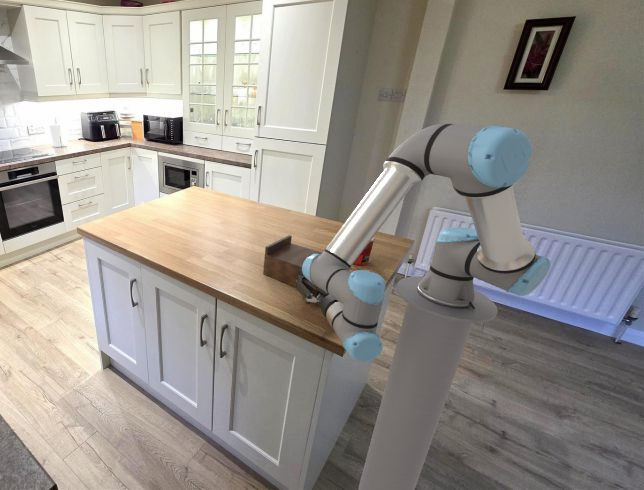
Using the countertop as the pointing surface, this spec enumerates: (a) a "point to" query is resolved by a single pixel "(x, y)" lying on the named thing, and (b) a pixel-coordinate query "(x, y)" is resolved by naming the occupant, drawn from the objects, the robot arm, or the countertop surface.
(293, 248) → the shelf
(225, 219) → the countertop surface
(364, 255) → the canned food
